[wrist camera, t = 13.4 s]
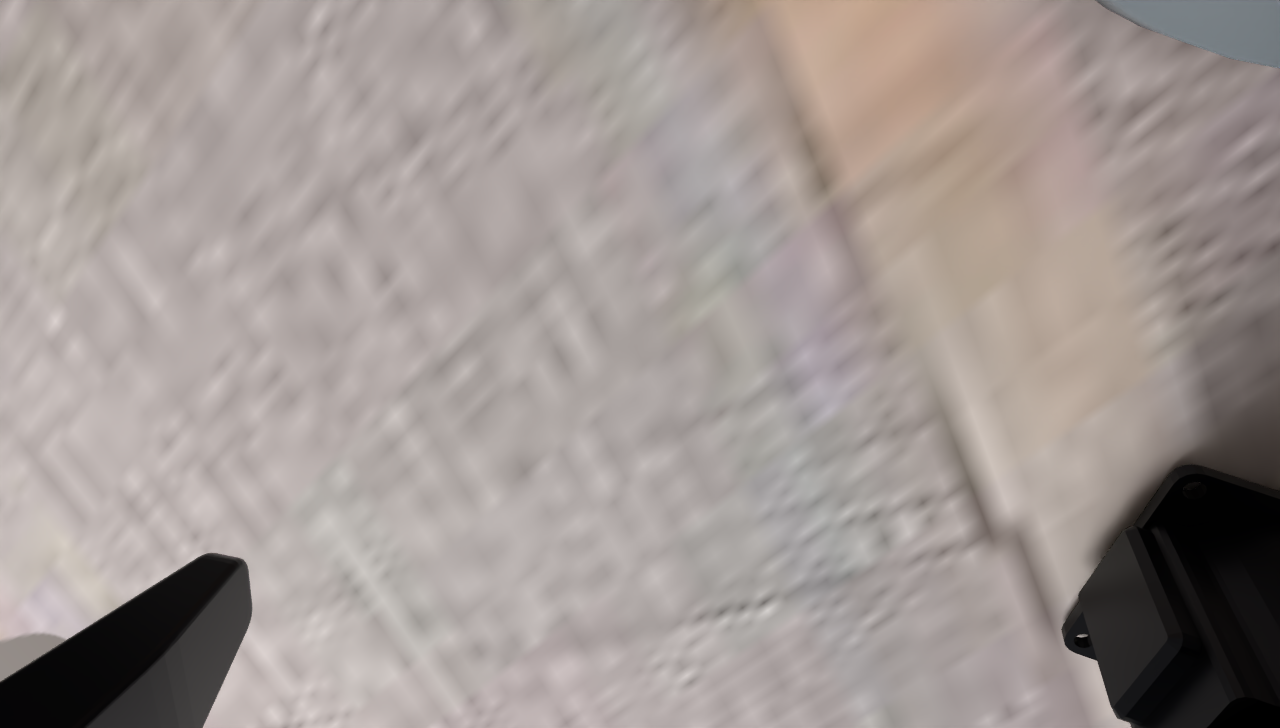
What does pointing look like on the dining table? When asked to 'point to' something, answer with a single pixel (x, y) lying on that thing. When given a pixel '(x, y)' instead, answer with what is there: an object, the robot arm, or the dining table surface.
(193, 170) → the dining table surface
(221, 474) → the dining table surface
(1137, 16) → the pedestal
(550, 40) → the dining table surface
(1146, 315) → the dining table surface
